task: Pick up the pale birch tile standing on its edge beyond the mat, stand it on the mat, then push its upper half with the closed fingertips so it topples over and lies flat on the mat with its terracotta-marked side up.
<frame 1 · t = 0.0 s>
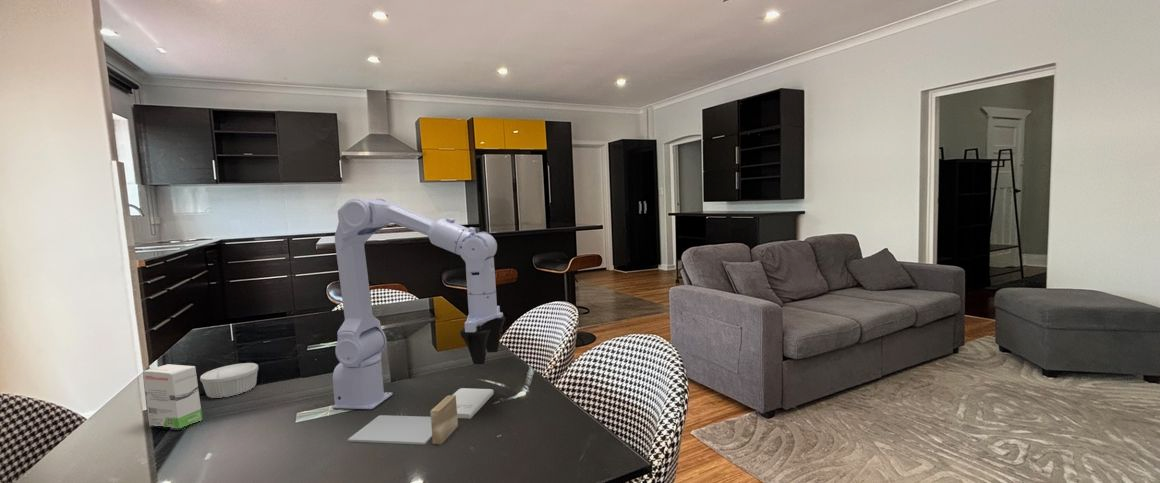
hand: (486, 357, 100), 10 cm above the table, tool pointing down, fingers open, 7 cm apart
external hard drive: (464, 408, 102), on the table
ink box: (176, 425, 99), on the table
tile: (445, 434, 89), on the table
mat: (400, 430, 92), on the table
ramekin: (232, 392, 116), on the table
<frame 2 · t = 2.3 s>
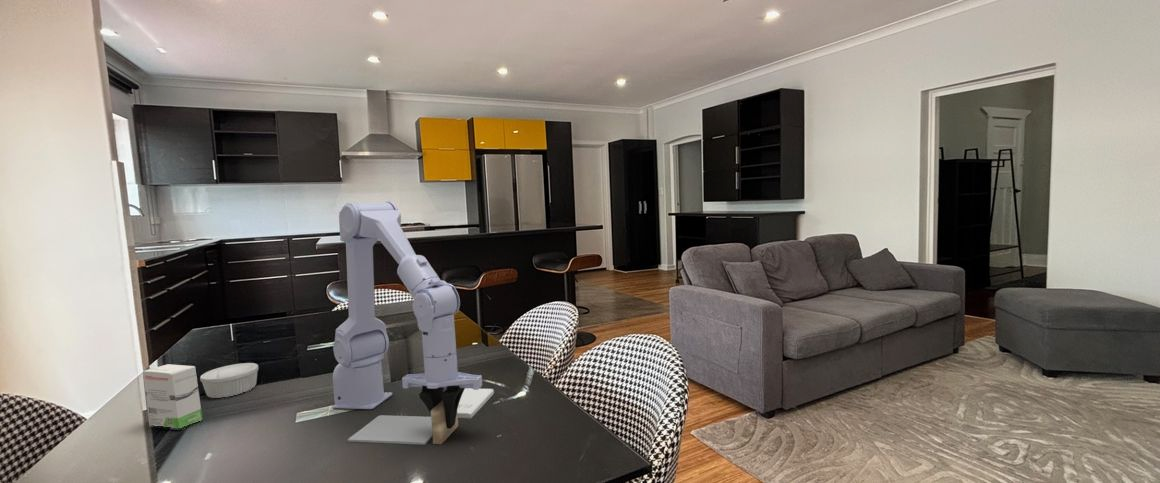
hand: (445, 425, 89), 2 cm above the table, tool pointing down, fingers closed on tile, 2 cm apart
tile: (446, 434, 89), on the table, touching gripper
everything else where it was.
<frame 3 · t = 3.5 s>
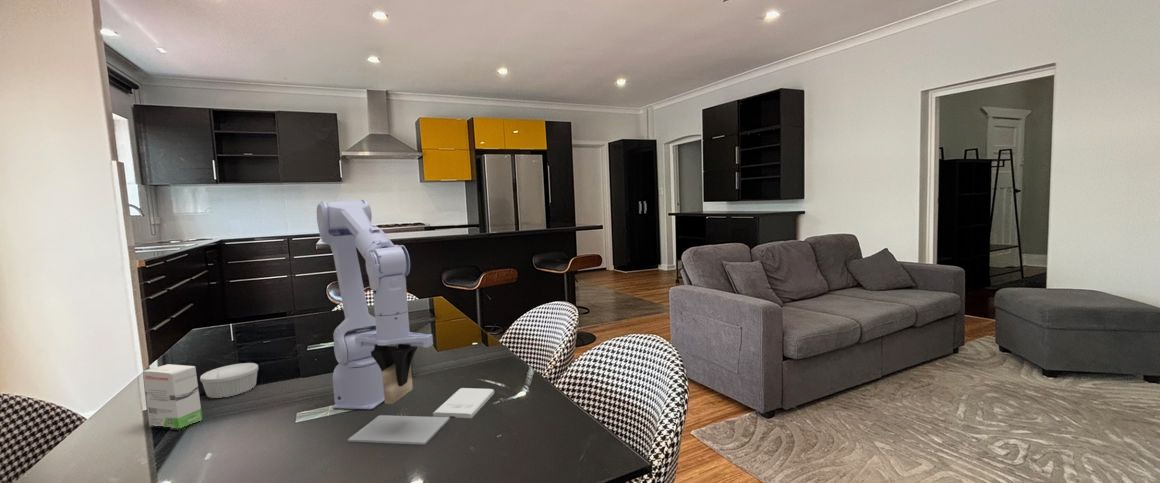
hand: (397, 384, 91), 9 cm above the table, tool pointing down, fingers closed on tile
tile: (399, 395, 91), point 6 cm above the table, touching gripper
everything else where it was.
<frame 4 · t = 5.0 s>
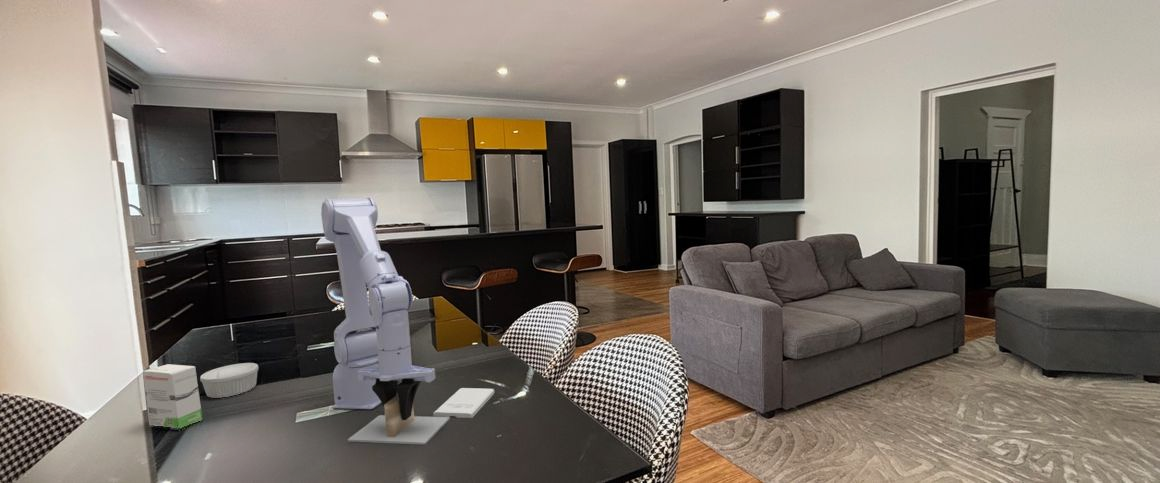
hand: (399, 417, 91), 2 cm above the table, tool pointing down, fingers closed
tile: (401, 428, 91), resting on mat
everything else where it was.
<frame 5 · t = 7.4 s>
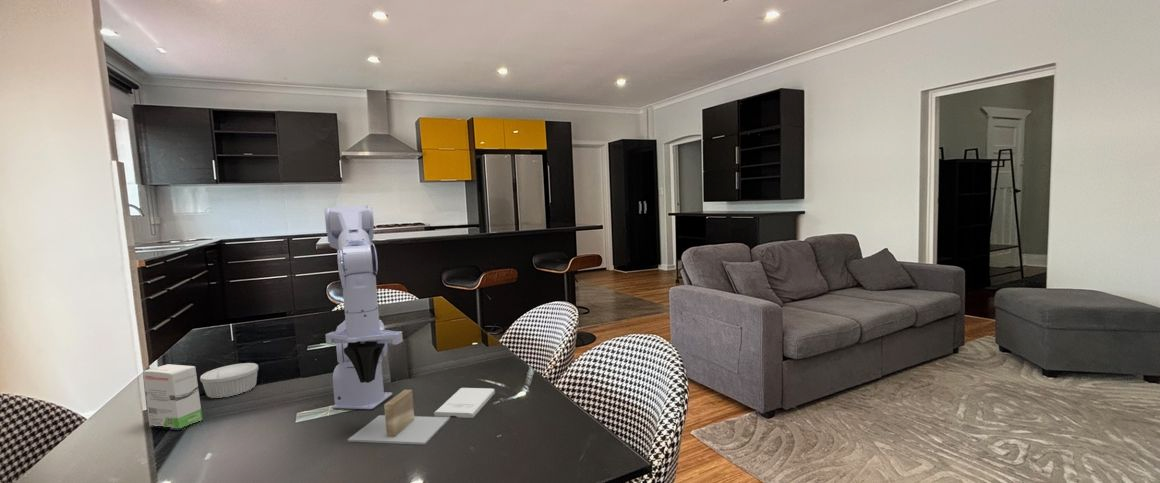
hand: (367, 380, 92), 9 cm above the table, tool pointing down, fingers closed
nothing on the table moved.
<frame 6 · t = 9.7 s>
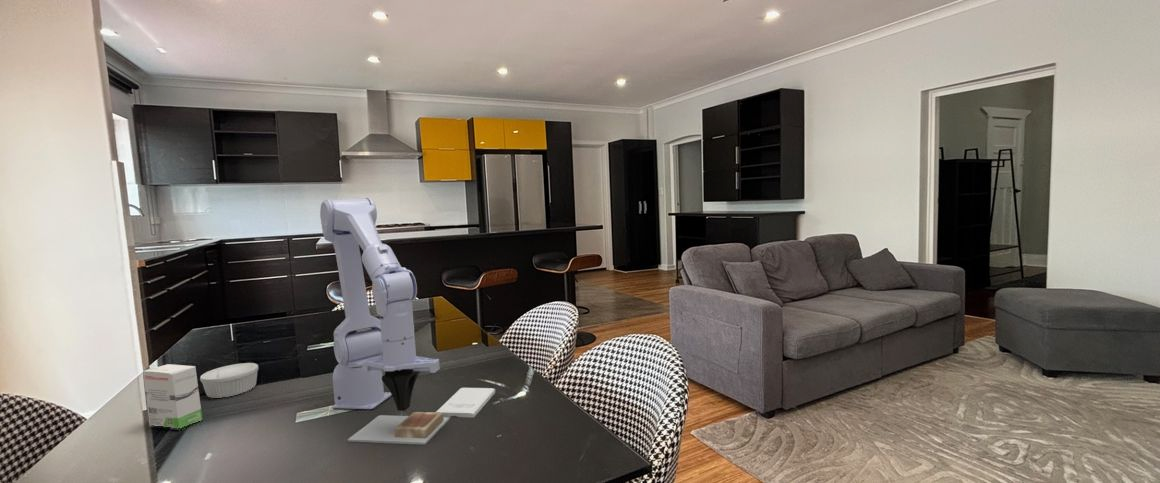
hand: (403, 408, 91), 4 cm above the table, tool pointing down, fingers closed
tile: (405, 424, 91), point 1 cm above the table, tilted 90°, touching mat
everything else where it was.
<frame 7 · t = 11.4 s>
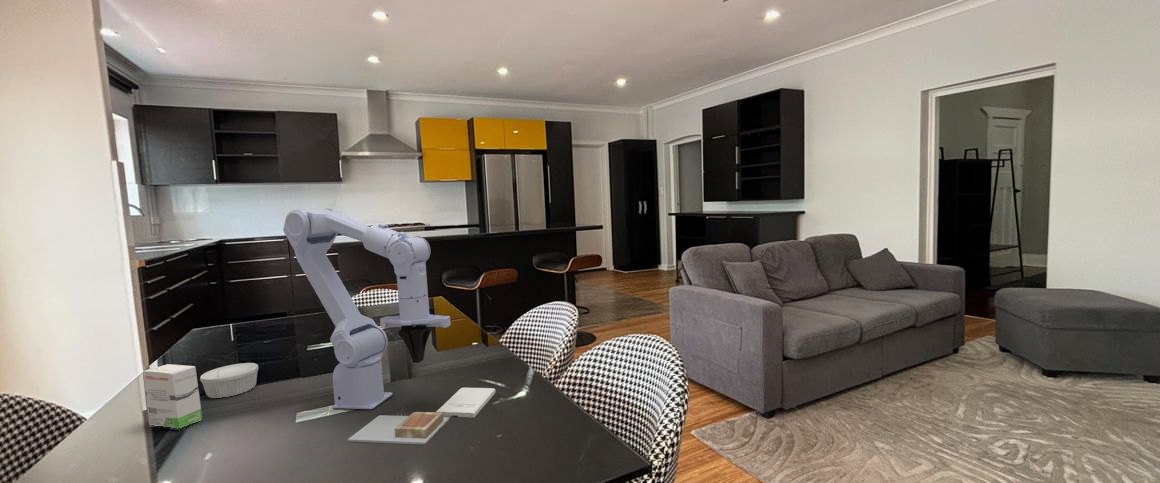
hand: (418, 361, 101), 10 cm above the table, tool pointing down, fingers closed
nothing on the table moved.
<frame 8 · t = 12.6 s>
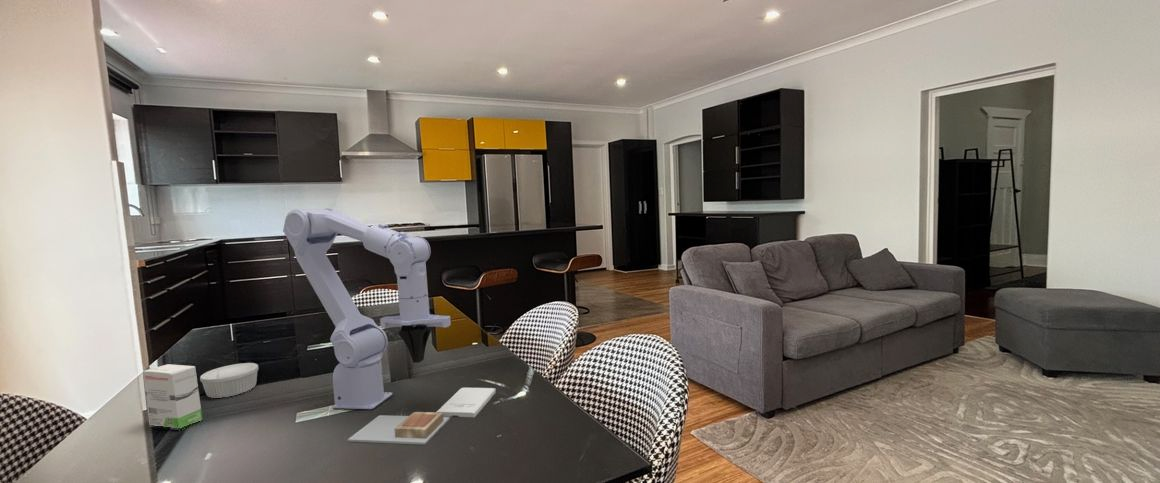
hand: (418, 361, 101), 10 cm above the table, tool pointing down, fingers closed
nothing on the table moved.
at the end: tile tilted 90°; tile inside the target area on the mat (1.0 cm from its centre), point 1.2 cm above the mat's base; the gripper is holding nothing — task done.
